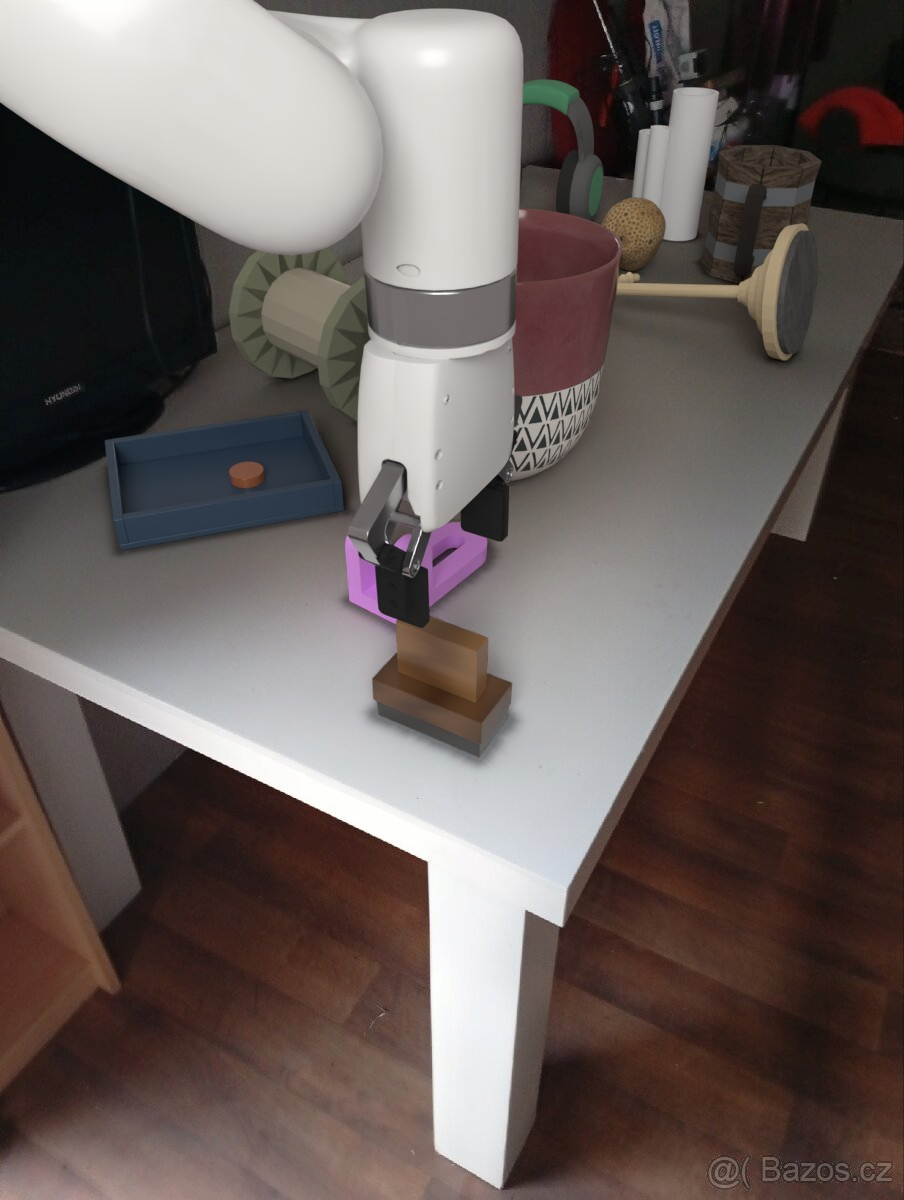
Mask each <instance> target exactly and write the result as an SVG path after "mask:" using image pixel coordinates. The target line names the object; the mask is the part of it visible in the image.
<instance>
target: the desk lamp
mask: <svg viewBox="0 0 904 1200" xmlns="http://www.w3.org/2000/svg"><path fill="white" fill-rule="evenodd" d="M818 261H819V259H818V247H817V240H816V238H815V235H814V233H813V232H812V231H811V230H809V228H808V225H807V226H806V225H805V224H803V223H800V224H795V225H789V226H787V227H785V228H784V229H783V230H782V231H781V233H780V234H779V236H778V238H777V240H776V243H775V246H774V248H773V250H772V251H771V252H770V253H769V254H768V255H767V257H766V259H765V261H764V263H763V264H762V265H761V266H759V267H757V268H756V269H755V270H754V272H753V274H752V277H750V278H749V279H747V280H745V281H743V282H741V283H740V284H738V285H737V284H695V283H694V284H693V283H692V284H691V283H653V282H652V283H648V282H646V283H645V282H639V281H640V279H641V275H640V274H639V273H632V271H627V272H626V274H625V273H623V274H621V275H619V280H618V286H617V291H616V296H639V297H669V298H670V297H673V298H705V299H706V298H707V299H735V300H737V302H738V303H741V305H743V306H744V307H746V308H747V311H748V315H749V316H750V318H751V319H753V320H754V321H756V325H757V329H758V331H759V333H761V335H762V340H763V341H762V342H763V347H764V349H765V352H766V354H767V356H768V357H770V358H771V359H776V360H780V361H788V360H789V359H790V358H791V357H792V356H793V355H794V354H796V353H797V352H798V351H799V350H800V348H801V347H802V345H803V343H804V341H805V337H806V336H807V333H808V330H809V327H810V323H811V320H812V316H813V310H814V305H815V300H816V293H817V284H818V270H819V269H818V268H819V267H818V266H819V265H818V264H819V263H818Z"/></svg>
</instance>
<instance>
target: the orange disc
mask: <svg viewBox="0 0 904 1200" xmlns="http://www.w3.org/2000/svg"><path fill="white" fill-rule="evenodd" d="M229 475H230V481H231V483H232V484H233V485H234V486H236V487H239V488H251V487H255V486H257V485H259V484H261V483H262V482H263V481H264V479H265V474H264V468H263V466H262V465H261V464H259V463H256V462H242V463H238V464H236V465H234V466H232V467H231V468H230V470H229Z"/></svg>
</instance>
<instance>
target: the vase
mask: <svg viewBox="0 0 904 1200" xmlns="http://www.w3.org/2000/svg"><path fill="white" fill-rule="evenodd" d="M719 98H720V92H719V91H718V90H716V89H712V88H706V87H694V86H693V87H692V86H691V87H678V88H675V89H674V90H673V92H672V98H671V106H670V114H669V122H668V125H662V124H654V125H650V128H643V129H640V130H638V138H637V139H638V140H637V148H636V156H635V166H634V174H633V182H632V190H631V198H633V197H638V198H644V199H648V200H650V201H652V202H653V203H655V204H656V205H657V206H658V208H659V209H660V210H661V212H662V214H663V215H664V218H665V222H666V228H665V234H664V238H663V240H665V241H671V242H687V241H691V240H695V239H696V238H697V235H698V230H699V229H698V228H699V224H700V223H699V222H700V217H701V210H702V204H703V198H704V191H705V185H706V178H707V174H708V173H707V172H708V167H709V159H710V155H711V154H710V153H711V147H712V142H713V141H712V140H713V136H714V135H713V134H714V128H715V122H716V115H717V108H718V103H719Z"/></svg>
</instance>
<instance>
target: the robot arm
mask: <svg viewBox="0 0 904 1200" xmlns="http://www.w3.org/2000/svg"><path fill="white" fill-rule="evenodd" d="M523 83H524V50H523V44H522V41H521V39H520V35H519V34H518V32H517V30H516V29H515V27H514V26H513V25H512V24H511V23H510V22H509V21H508V20H507V19H506V18H503V17H501V16H499V15H497V14H494V13H491V12H487V11H480V10H475V9H474V10H473V9H463V8H417V9H407V10H400V11H393V12H387V13H383V14H380V15H378V16H375V17H372V18H357V17H356V18H355V17H341V16H340V17H338V16H324V15H315V14H305V13H298V12H297V13H295V12H287V11H278V10H271V9H270V10H269V9H266V8H265V7H263V6H262V5H261V4H259V3H258V2H257V1H255V0H0V104H2V105H3V106H5V107H6V108H7V109H9V110H10V111H12V112H13V113H15V115H17V116H18V117H21V119H23V120H24V121H26V122H28V123H29V124H30V125H32V126H33V127H35V128H36V129H39V131H41V132H43V134H46V135H47V136H48V137H50V138H52V139H53V140H55V142H58V143H59V144H60V145H62V146H63V147H66V149H68V150H70V151H72V152H74V153H75V154H76V155H78V156H79V157H81V158H83V159H84V160H86V161H87V162H90V163H92V164H93V165H94V166H96V167H98V168H99V169H101V170H103V171H104V172H106V173H108V174H110V175H112V176H113V177H115V178H117V179H118V180H120V181H121V182H124V184H125V183H126V185H129V186H131V187H133V188H135V189H136V190H137V191H140V192H142V193H144V194H145V195H147V196H149V197H150V198H152V199H154V200H156V201H158V202H160V203H161V204H163V205H165V206H166V207H168V208H170V209H172V210H174V211H175V212H177V213H179V214H181V215H182V216H184V217H186V218H188V219H190V220H191V221H192V222H195V223H197V224H198V225H200V226H202V227H204V228H206V229H208V230H210V231H212V232H214V233H215V234H217V235H219V236H221V237H223V238H225V239H227V240H229V241H230V242H233V243H235V244H238V245H240V246H243V247H246V248H248V249H251V250H256V251H257V250H259V251H263V252H266V253H270V254H281V255H299V254H307V253H312V252H315V251H318V250H321V249H324V248H329V247H331V246H333V245H334V244H336V243H338V242H340V241H341V240H343V239H345V238H346V237H347V236H348V235H349V234H350V233H351V232H352V231H354V229H356V228H357V227H358V226H359V225H360V233H361V247H362V262H363V275H364V276H363V277H365V292H366V307H367V321H368V333H369V336H370V338H371V340H369V341H368V342H367V343H366V344H365V346H364V351H363V357H362V364H361V372H360V382H359V395H358V422H357V474H358V475H357V477H358V492H359V501H360V505H359V508H358V509H357V510H356V512H355V514H354V516H353V518H352V519H351V521H350V523H349V525H348V527H347V535H348V537H349V539H350V540H351V542H352V543H353V545H354V546H355V548H356V549H357V551H358V555H359V557H360V558H361V559H363V560H365V561H367V562H368V563H370V564H372V565H375V574H376V588H377V601H378V609H379V611H380V612H381V613H382V614H384V615H386V616H389V617H392V618H395V619H397V620H400V621H403V622H405V623H408V624H411V625H414V626H416V627H419V628H424V627H425V626H426V625H427V624H428V622H429V621H430V616H431V615H430V607H429V583H428V569H427V568H425V567H423V566H421V564H422V561H423V558H424V554H425V551H426V548H427V545H428V542H429V539H430V536H431V533H432V531H434V530H437V529H439V528H440V527H442V526H444V525H445V524H447V523H450V521H451V520H452V519H454V518H455V517H456V516H457V515H458V514H459V513H460V523H461V528H462V530H463V531H466V532H469V533H472V534H475V535H479V536H482V537H485V538H487V540H488V539H489V540H492V541H495V542H498V543H499V542H500V543H502V542H503V541H505V540H506V538H507V537H508V536H509V518H510V517H509V515H510V514H509V513H510V485H507V484H508V483H509V482H511V481H510V480H511V478H512V475H513V469H514V468H513V465H512V463H511V462H510V457H511V454H512V452H513V449H514V446H515V445H516V444H517V441H516V440H517V438H518V436H517V431H516V430H514V427H517V423H518V418H519V414H520V410H521V406H522V396H521V395H517V394H514V361H513V345H512V337H513V335H514V334H515V327H516V292H517V260H518V230H519V208H520V200H521V198H520V197H521V189H520V169H521V157H522V138H523V137H522V135H523V106H524V105H523ZM504 483H505V484H504ZM402 501H405V502H408V503H410V506H411V509H412V511H413V513H414V515H412V514H409V513H405V512H403V511H400V506H401V504H402ZM397 524H399V525H403V526H406V527H409V528H412V529H413V530H412V532H411V534H412V536H411V539H410V542H409V545H408V548H407V551H406V552H405V551H403V550H402V549H400V548H398V547H396V546H394V545H395V544H392V540H393V537H394V533H395V530H396V527H397ZM390 543H391V544H390Z"/></svg>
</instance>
